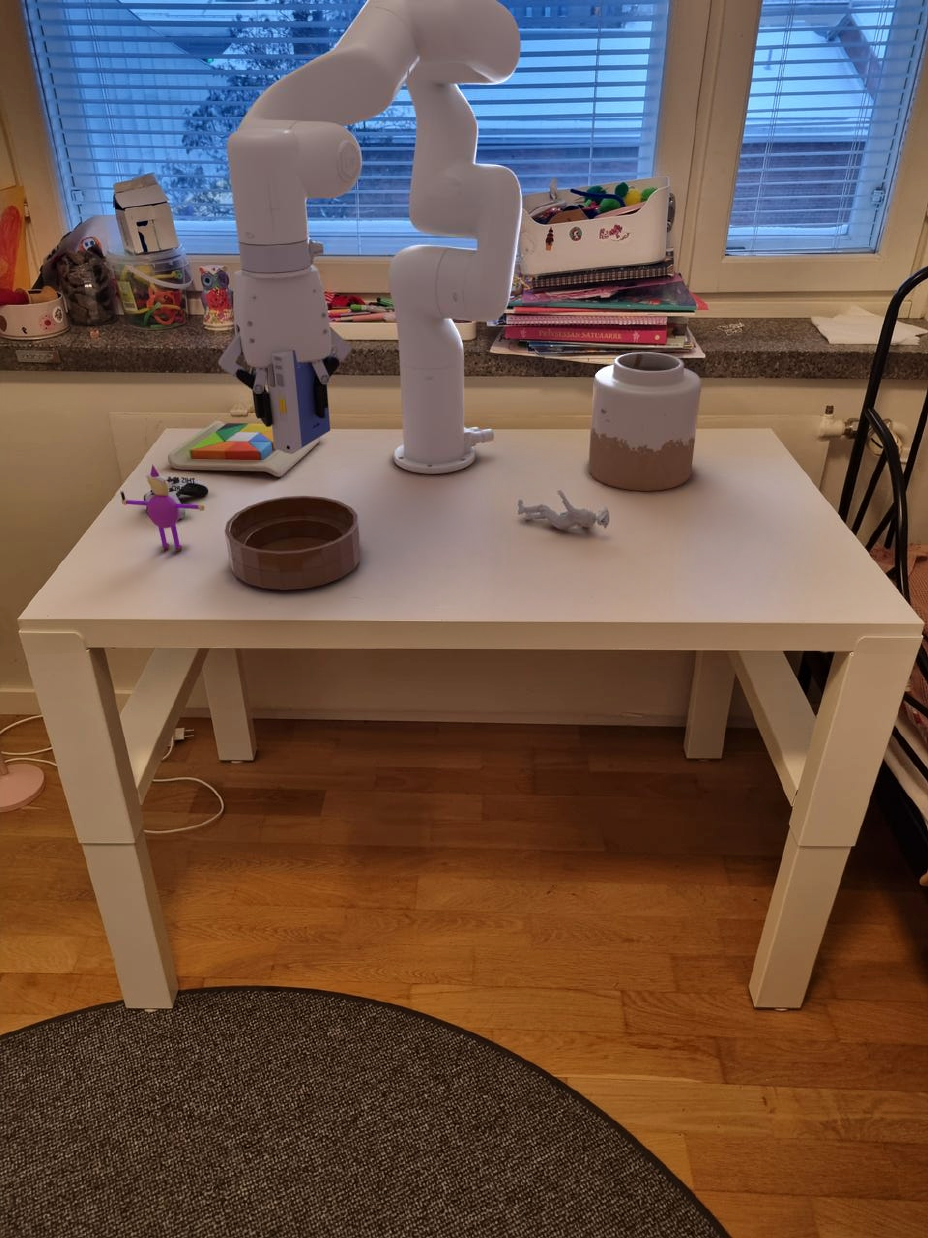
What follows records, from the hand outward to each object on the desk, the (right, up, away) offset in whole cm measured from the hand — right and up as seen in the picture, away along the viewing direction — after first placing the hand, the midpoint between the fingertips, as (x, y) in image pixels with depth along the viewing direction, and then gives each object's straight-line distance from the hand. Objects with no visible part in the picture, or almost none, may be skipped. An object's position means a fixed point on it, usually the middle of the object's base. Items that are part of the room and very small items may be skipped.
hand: (292, 417), depth 113 cm
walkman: (+1, -2, +2) cm, 4 cm away
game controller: (-21, -8, +24) cm, 33 cm away
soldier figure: (+33, -12, +17) cm, 39 cm away
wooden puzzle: (-14, +2, +41) cm, 43 cm away
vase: (+47, -1, +33) cm, 57 cm away
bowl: (-1, -16, +9) cm, 19 cm away
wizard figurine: (-18, -15, +12) cm, 26 cm away
